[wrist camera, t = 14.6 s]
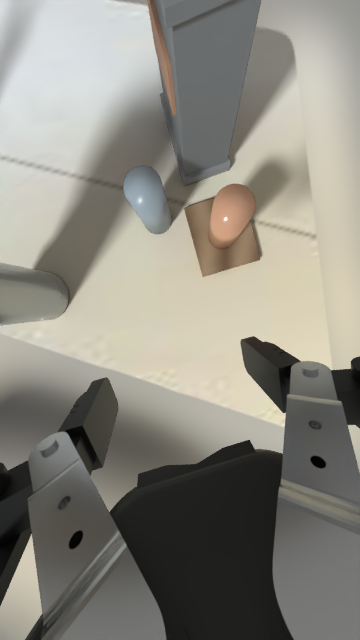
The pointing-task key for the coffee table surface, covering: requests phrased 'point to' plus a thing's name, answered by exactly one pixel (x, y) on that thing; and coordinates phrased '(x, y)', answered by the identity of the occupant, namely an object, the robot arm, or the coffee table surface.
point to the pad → (213, 257)
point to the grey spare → (148, 198)
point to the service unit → (202, 76)
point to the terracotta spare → (230, 215)
